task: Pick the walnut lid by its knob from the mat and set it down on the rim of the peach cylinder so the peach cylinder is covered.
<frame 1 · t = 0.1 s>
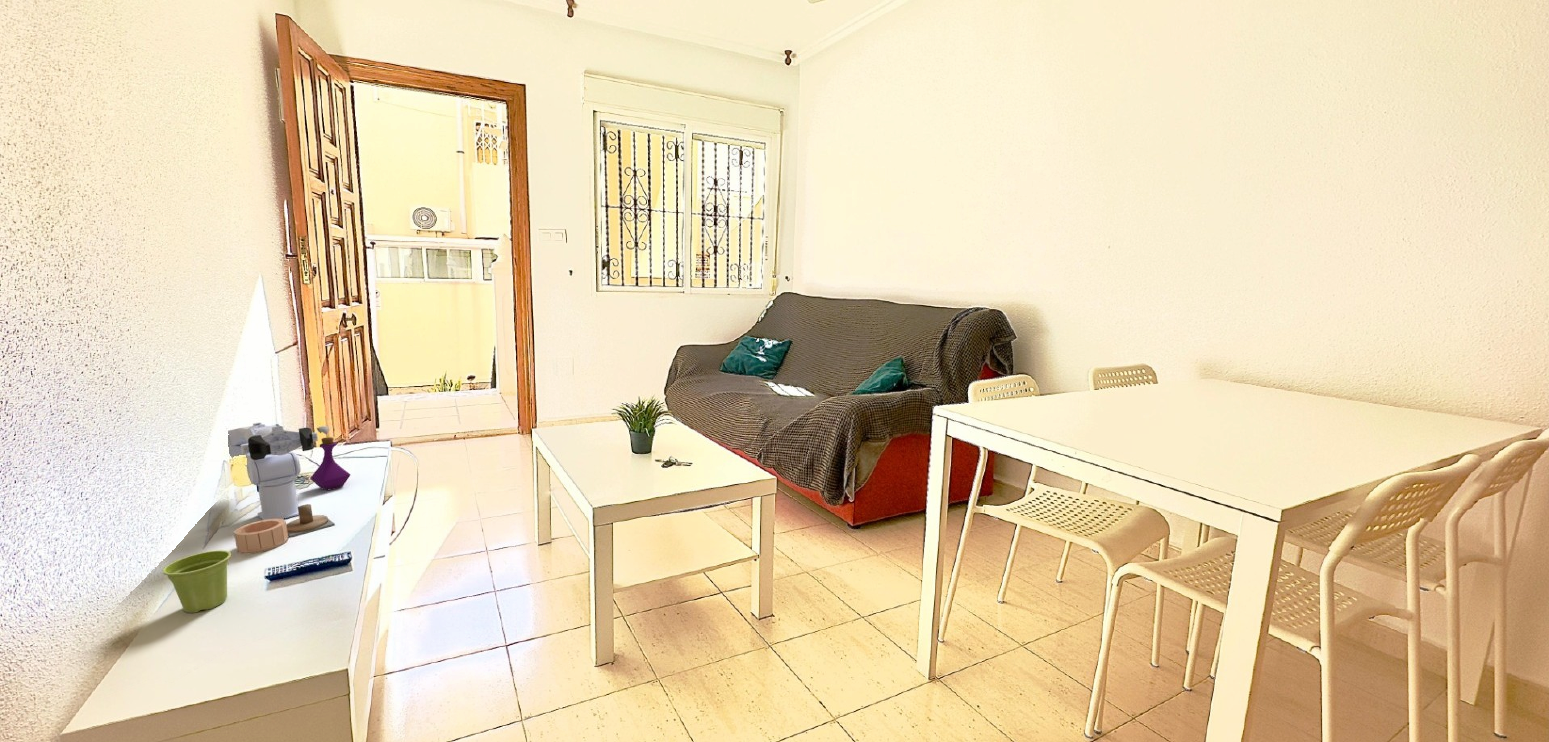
hand: (289, 445, 148), 22 cm above the table, tool horizontal, fingers open, 7 cm apart
plant pot: (205, 605, 119), on the table
mat: (307, 526, 156), on the table
lid: (307, 525, 155), resting on mat
peach cylinder: (263, 544, 146), on the table
perfume bottle: (332, 487, 184), on the table
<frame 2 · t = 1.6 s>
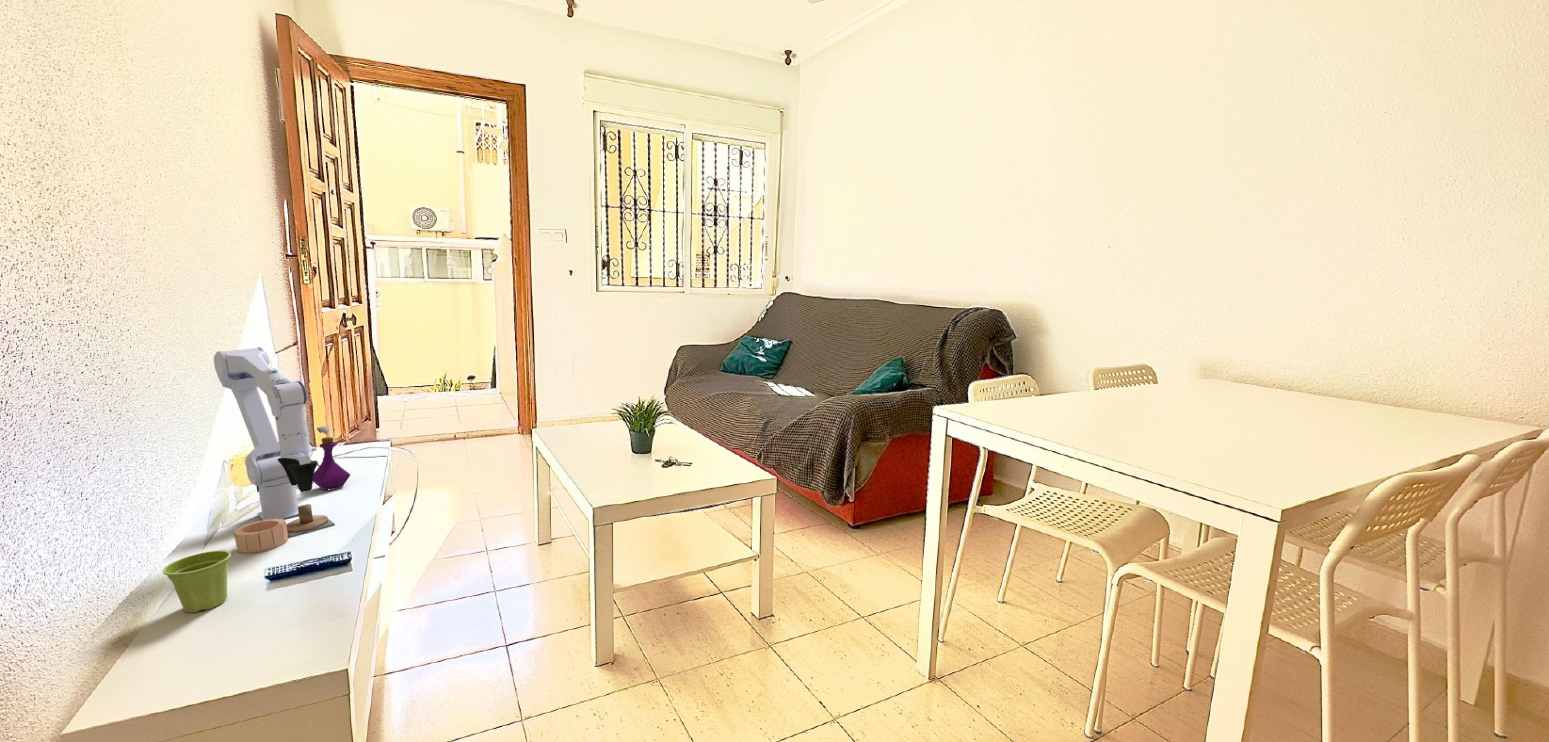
hand: (301, 487, 154), 10 cm above the table, tool pointing down, fingers open, 7 cm apart
nothing on the table moved.
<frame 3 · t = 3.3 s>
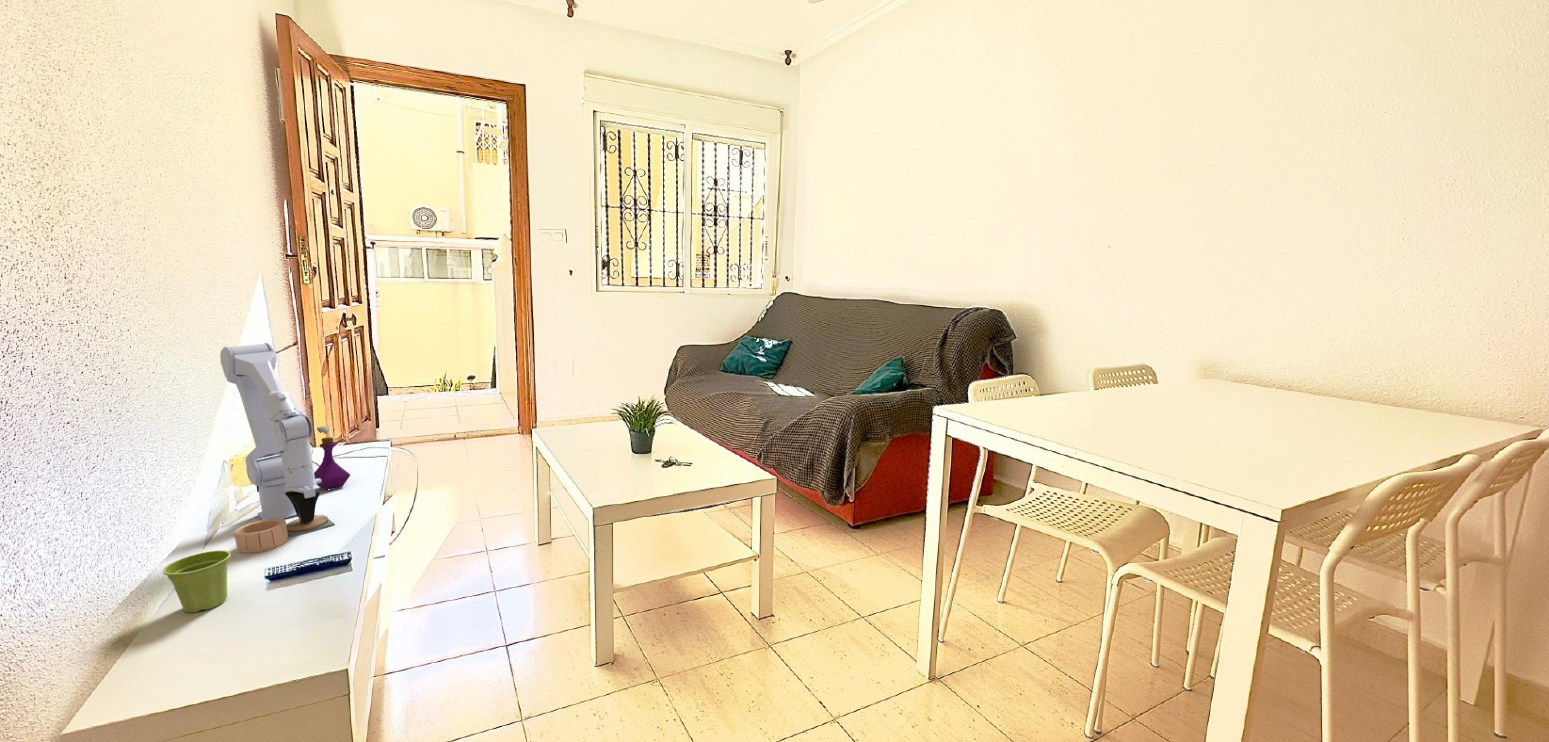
hand: (306, 519, 155), 2 cm above the table, tool pointing down, fingers closed on lid, 3 cm apart
lid: (307, 524, 155), resting on mat, touching gripper
everything else where it was.
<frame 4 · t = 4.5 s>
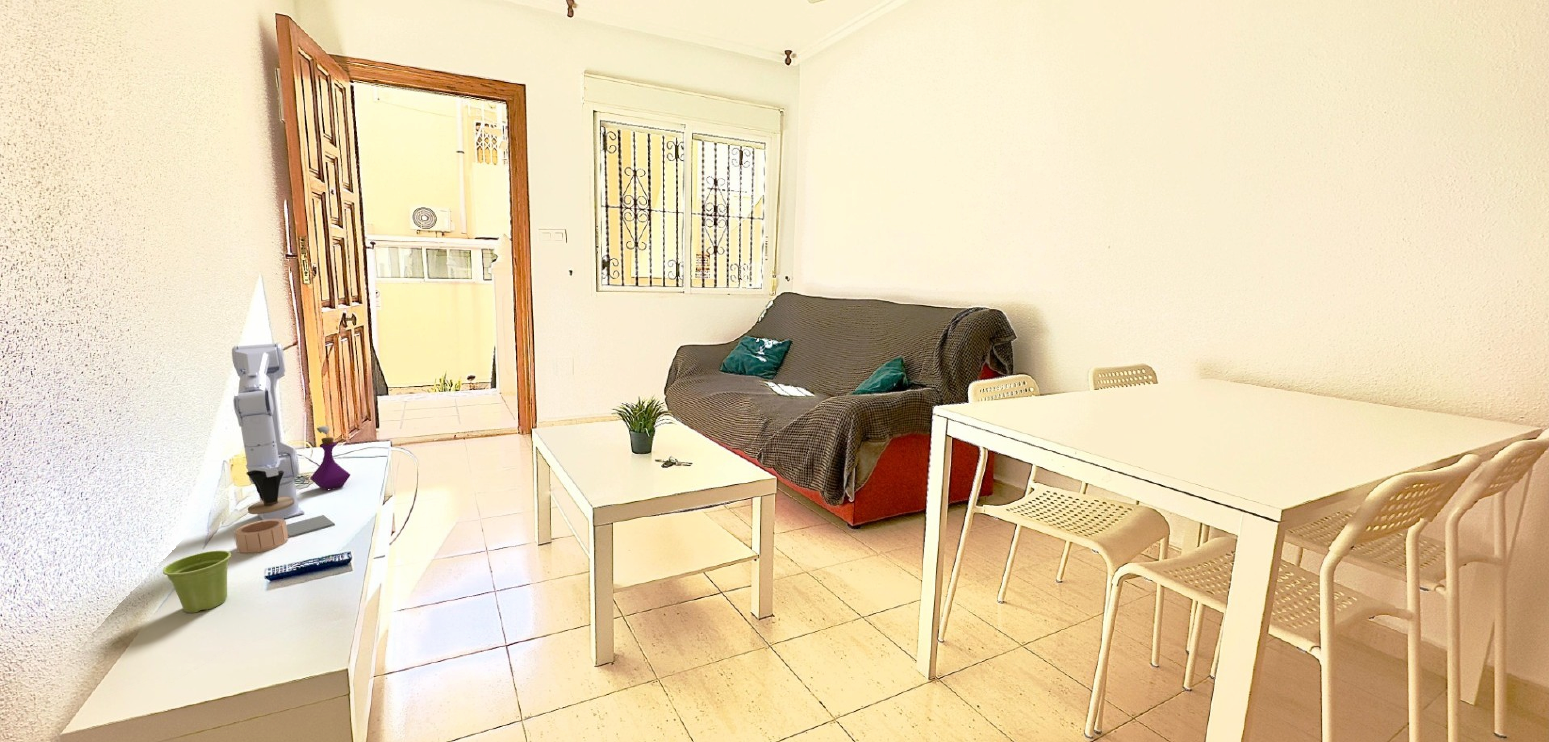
hand: (269, 500, 147), 9 cm above the table, tool pointing down, fingers closed on lid, 3 cm apart
lid: (271, 506, 147), point 8 cm above the table, touching gripper
everything else where it was.
when the fingers open (7 cm above the table, at t = 5.4 s): lid stays where it is, resting on peach cylinder.
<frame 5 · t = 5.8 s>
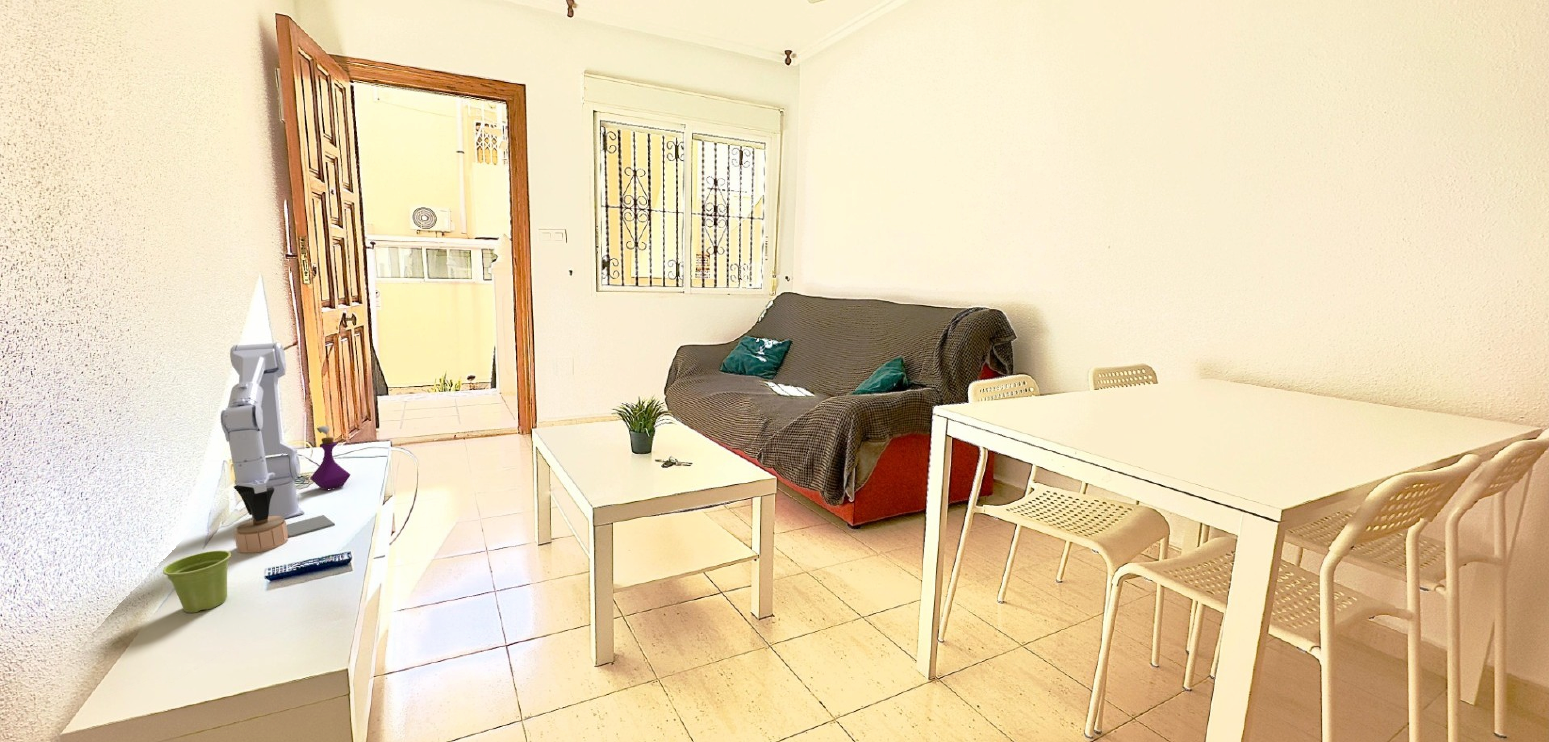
hand: (258, 516, 144), 7 cm above the table, tool pointing down, fingers open, 6 cm apart
lid: (261, 526, 145), point 4 cm above the table, touching peach cylinder
everything else where it was.
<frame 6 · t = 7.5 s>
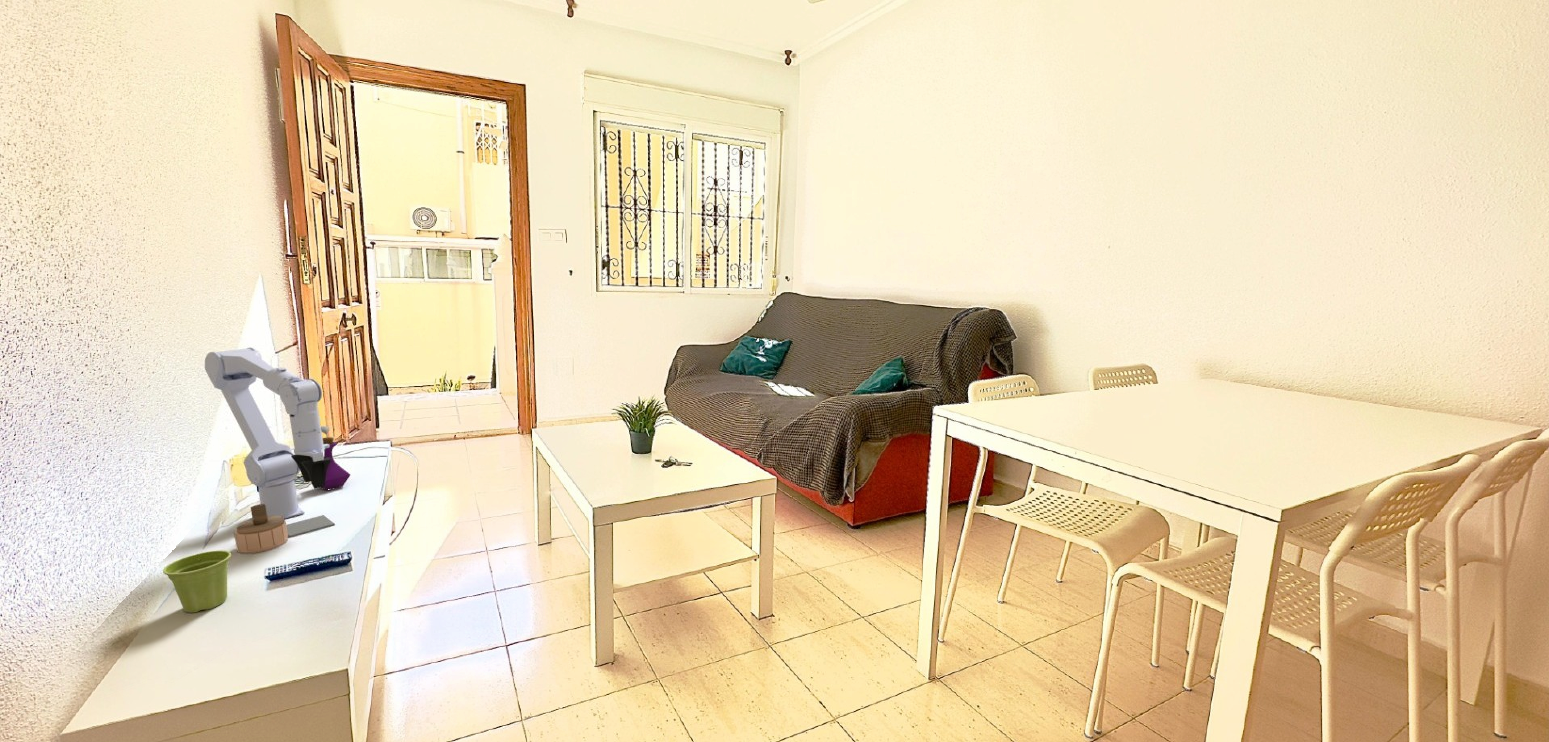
hand: (314, 484, 156), 10 cm above the table, tool pointing down, fingers open, 7 cm apart
nothing on the table moved.
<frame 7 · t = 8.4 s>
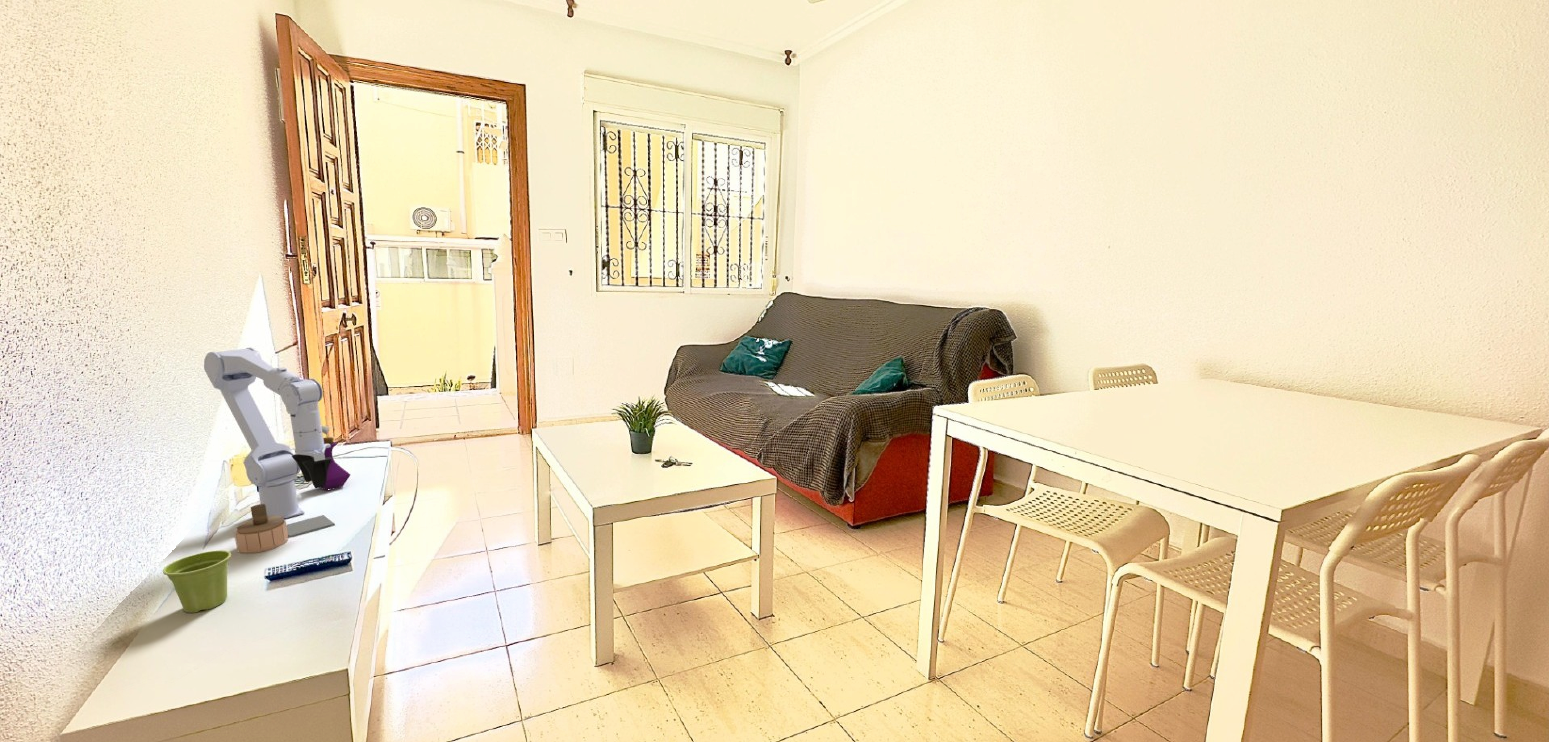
hand: (315, 483, 156), 10 cm above the table, tool pointing down, fingers open, 7 cm apart
nothing on the table moved.
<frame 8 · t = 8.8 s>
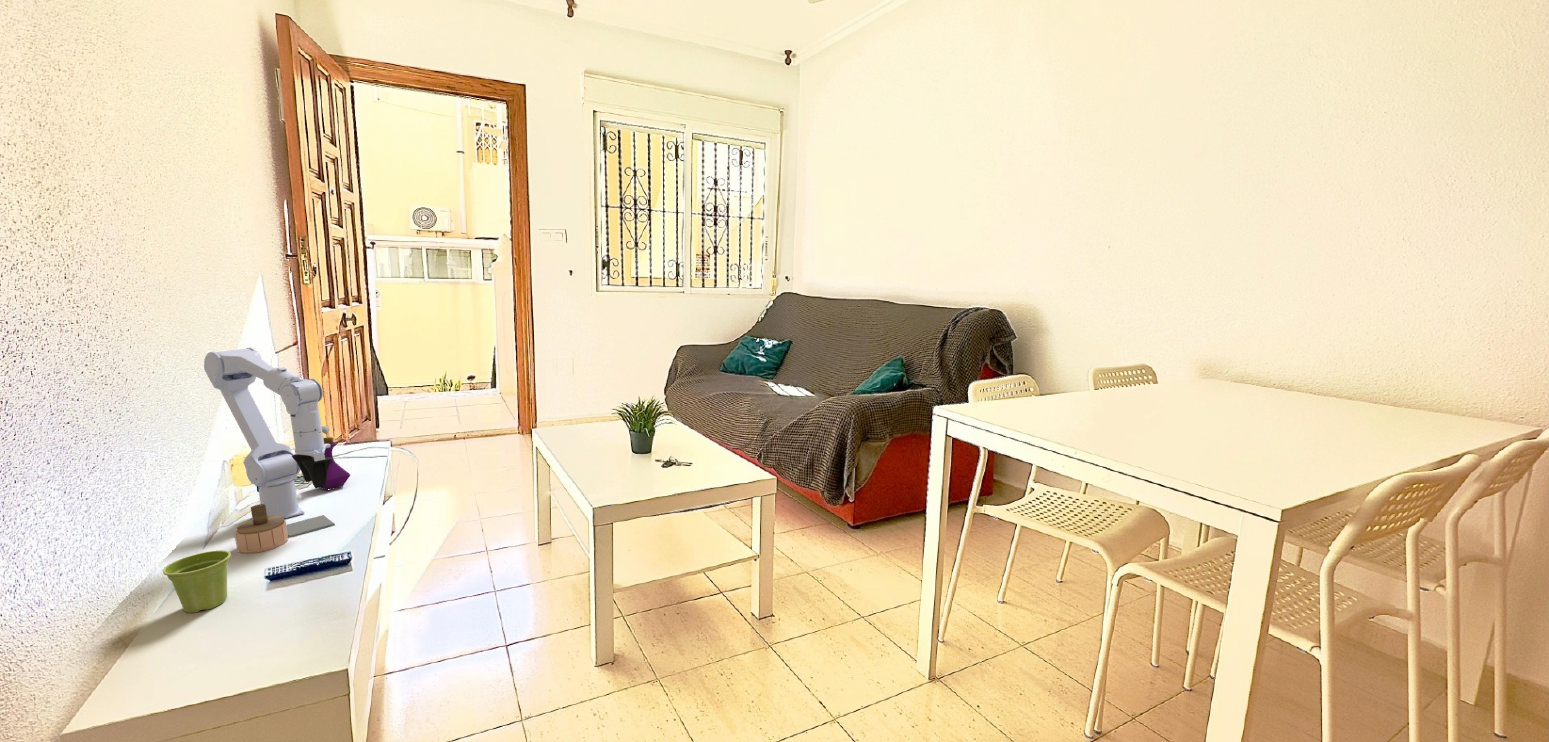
hand: (315, 483, 156), 10 cm above the table, tool pointing down, fingers open, 7 cm apart
nothing on the table moved.
at the end: lid 0.2 cm off-centre on the peach cylinder, point 4.4 cm above the peach cylinder's base; lid tilted 0°; the gripper is holding nothing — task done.
